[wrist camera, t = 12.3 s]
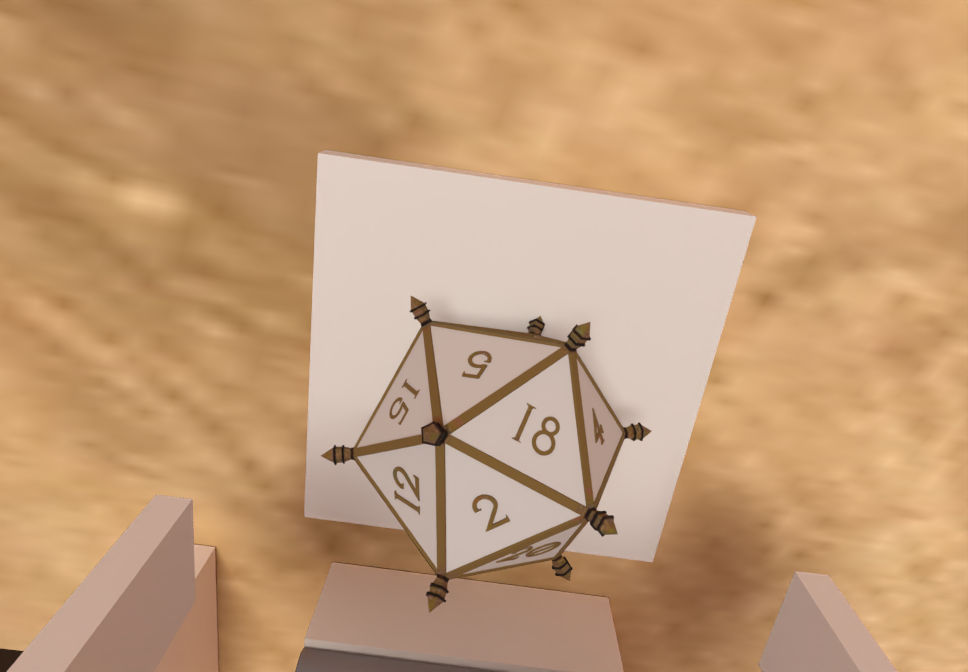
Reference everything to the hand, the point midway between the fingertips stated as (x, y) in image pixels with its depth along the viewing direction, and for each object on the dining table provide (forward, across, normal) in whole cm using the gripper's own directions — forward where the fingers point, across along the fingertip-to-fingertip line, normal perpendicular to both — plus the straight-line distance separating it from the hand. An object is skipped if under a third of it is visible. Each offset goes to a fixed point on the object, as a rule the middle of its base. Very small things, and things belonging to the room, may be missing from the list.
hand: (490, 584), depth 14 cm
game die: (+10, 0, 0) cm, 10 cm away
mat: (+10, 0, -1) cm, 10 cm away
